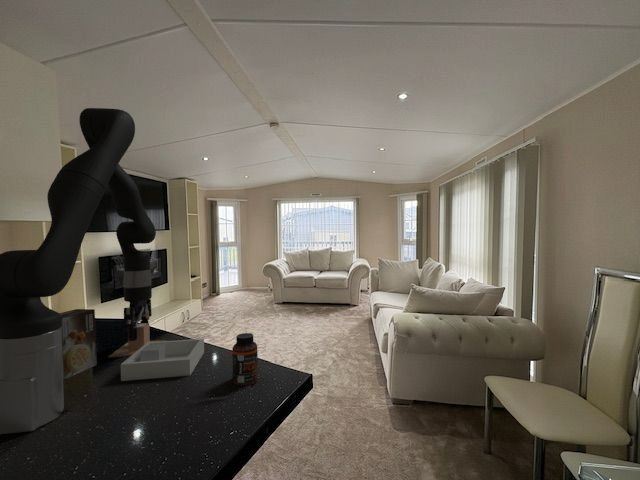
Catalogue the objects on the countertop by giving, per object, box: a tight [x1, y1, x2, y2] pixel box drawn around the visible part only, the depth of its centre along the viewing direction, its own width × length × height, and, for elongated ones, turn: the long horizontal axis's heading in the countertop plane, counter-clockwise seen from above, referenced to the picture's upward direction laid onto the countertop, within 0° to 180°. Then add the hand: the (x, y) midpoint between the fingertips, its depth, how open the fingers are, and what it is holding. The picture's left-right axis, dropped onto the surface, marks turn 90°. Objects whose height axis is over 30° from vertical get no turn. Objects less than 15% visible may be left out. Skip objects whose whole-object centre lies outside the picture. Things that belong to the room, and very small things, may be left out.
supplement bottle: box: [231, 332, 259, 386], centre depth 74 cm, size 6×6×11 cm
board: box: [107, 339, 167, 359], centre depth 97 cm, size 12×12×1 cm
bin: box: [120, 338, 205, 382], centre depth 84 cm, size 16×16×5 cm
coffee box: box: [58, 308, 98, 380], centre depth 81 cm, size 9×6×16 cm
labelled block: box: [127, 322, 151, 351], centre depth 96 cm, size 4×4×7 cm
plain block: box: [141, 344, 165, 362], centre depth 83 cm, size 4×4×5 cm
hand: (139, 336), depth 97 cm, fingers open, 8 cm apart
